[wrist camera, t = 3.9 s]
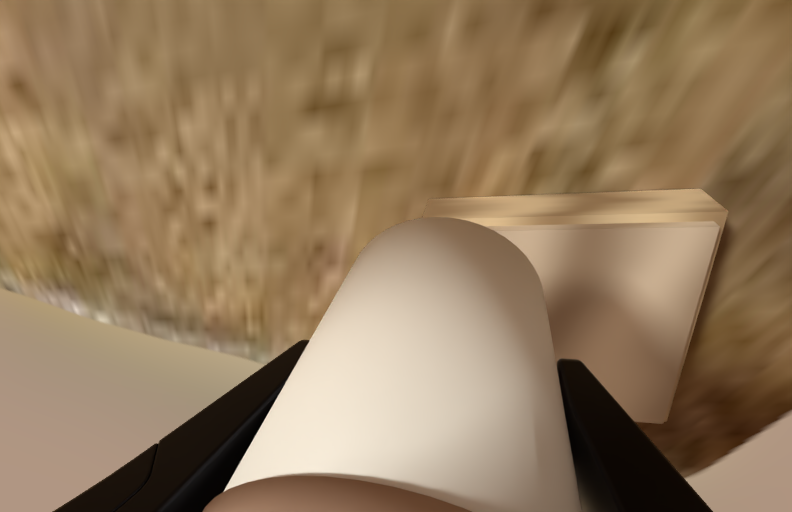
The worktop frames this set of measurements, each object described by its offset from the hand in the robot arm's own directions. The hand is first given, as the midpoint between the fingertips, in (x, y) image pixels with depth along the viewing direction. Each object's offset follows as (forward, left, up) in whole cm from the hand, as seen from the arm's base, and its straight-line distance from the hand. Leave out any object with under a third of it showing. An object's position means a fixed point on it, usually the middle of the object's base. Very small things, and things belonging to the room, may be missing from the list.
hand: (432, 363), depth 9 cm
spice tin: (0, 0, -2) cm, 2 cm away
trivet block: (-4, +7, -13) cm, 15 cm away
